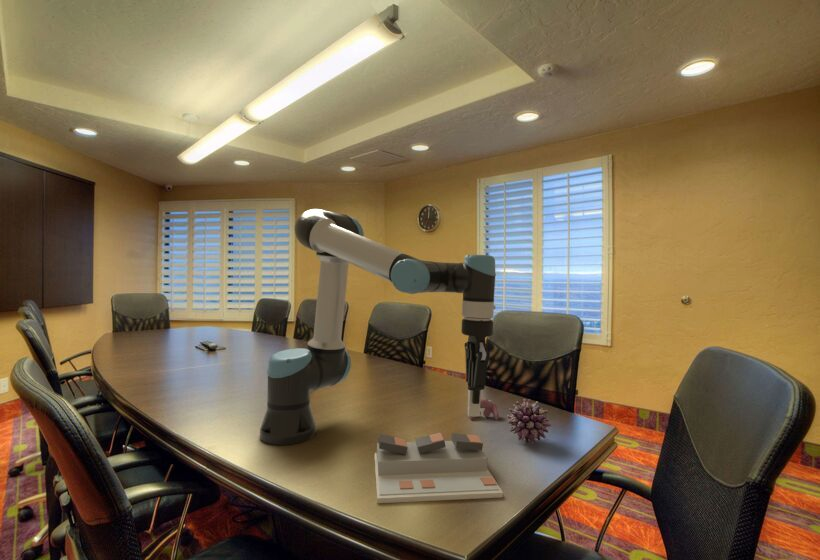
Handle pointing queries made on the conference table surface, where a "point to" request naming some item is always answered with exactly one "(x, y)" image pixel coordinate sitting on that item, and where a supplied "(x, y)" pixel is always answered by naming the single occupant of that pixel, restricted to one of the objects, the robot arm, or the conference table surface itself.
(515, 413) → the flower
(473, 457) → the switch panel
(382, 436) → the left switch
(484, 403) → the video game controller
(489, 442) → the conference table surface
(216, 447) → the conference table surface
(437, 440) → the middle switch
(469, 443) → the right switch
